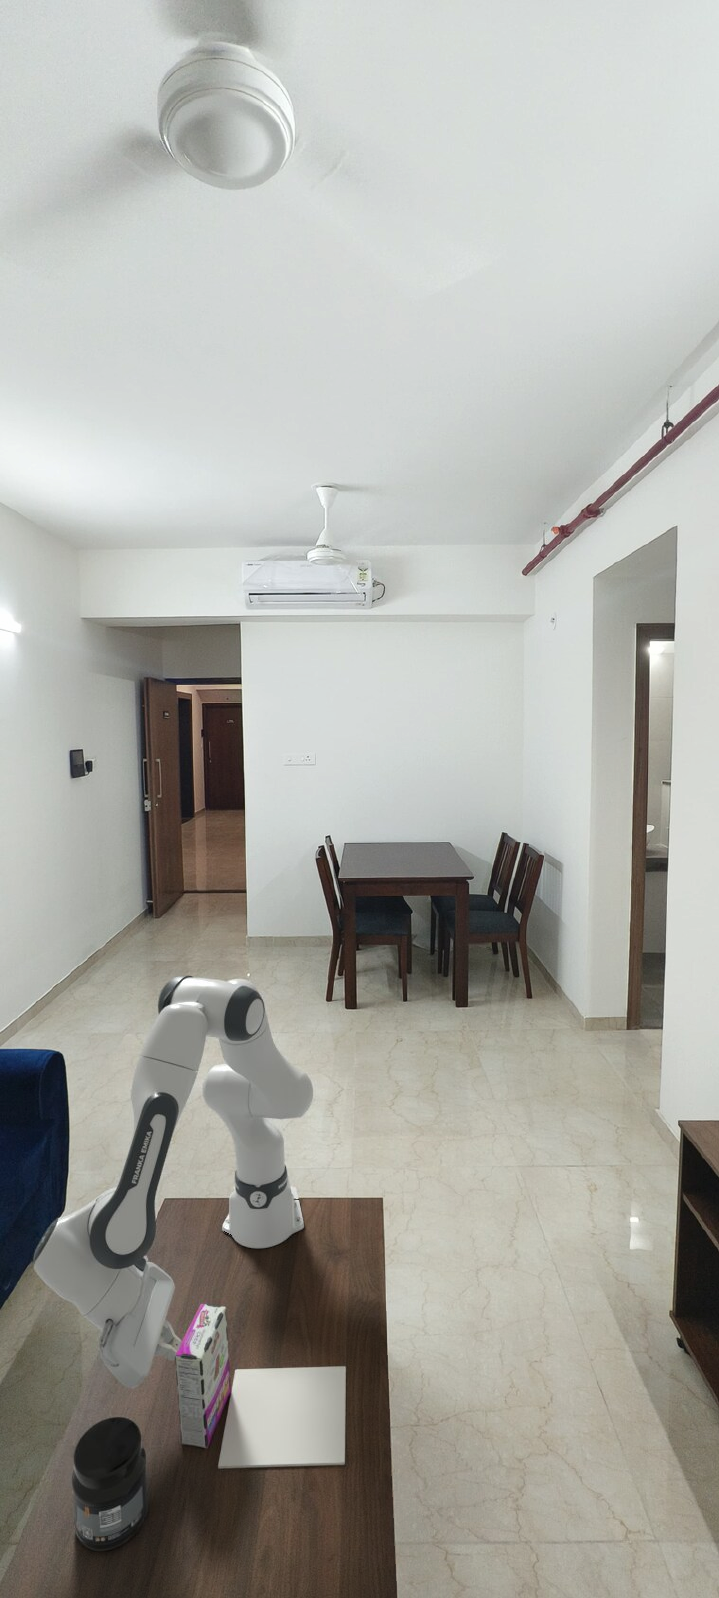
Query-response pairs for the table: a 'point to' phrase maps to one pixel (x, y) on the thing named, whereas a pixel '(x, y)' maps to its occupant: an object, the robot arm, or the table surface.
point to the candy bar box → (203, 1375)
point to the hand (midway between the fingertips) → (177, 1351)
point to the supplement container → (109, 1484)
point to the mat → (285, 1418)
